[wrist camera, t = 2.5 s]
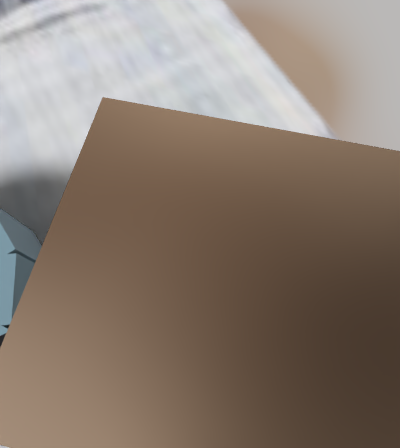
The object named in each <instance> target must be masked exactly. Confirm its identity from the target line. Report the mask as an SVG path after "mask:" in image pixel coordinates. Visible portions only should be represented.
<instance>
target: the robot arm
mask: <svg viewBox="0 0 400 448" xmlns="http://www.w3.org/2000/svg"><path fill="white" fill-rule="evenodd" d="M5 335H6V333H5V334H3V335H1V336H0V347H1V345H2V342H3V340H4V337H5Z"/></svg>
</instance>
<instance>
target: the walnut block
mask: <svg viewBox="0 0 400 448" xmlns="http://www.w3.org/2000/svg"><path fill="white" fill-rule="evenodd" d="M0 445H3V446H7V447H10V448H400V151H395V150H390V149H384V148H379V147H373V146H368V145H362V144H357V143H351V142H346V141H340V140H335V139H329V138H324V137H318V136H313V135H307V134H302V133H296V132H291V131H285V130H280V129H275V128H269V127H264V126H258V125H253V124H247V123H242V122H236V121H231V120H225V119H220V118H214V117H209V116H203V115H198V114H192V113H187V112H181V111H176V110H170V109H165V108H159V107H154V106H148V105H143V104H137V103H132V102H126V101H121V100H115V99H110V98H104V97H103V98H102V101H101V103H100V105H99V108H98V110H97V113H96V115H95V118H94V120H93V123H92V125H91V127H90V130H89V132H88V135H87V137H86V140H85V142H84V145H83V147H82V149H81V152H80V154H79V157H78V159H77V162H76V164H75V167H74V169H73V171H72V174H71V176H70V179H69V181H68V184H67V186H66V189H65V191H64V193H63V196H62V198H61V201H60V203H59V206H58V208H57V210H56V213H55V215H54V218H53V220H52V223H51V225H50V228H49V230H48V232H47V235H46V237H45V240H44V242H43V245H42V247H41V250H40V252H39V254H38V257H37V259H36V262H35V264H34V267H33V269H32V272H31V274H30V276H29V279H28V281H27V284H26V286H25V289H24V291H23V294H22V296H21V298H20V301H19V303H18V306H17V308H16V311H15V313H14V316H13V318H12V320H11V323H10V325H9V328H8V330H7V333H6V335H5V337H4V340H3V342H2V345H1V347H0Z"/></svg>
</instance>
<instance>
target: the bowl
mask: <svg viewBox="0 0 400 448" xmlns="http://www.w3.org/2000/svg"><path fill="white" fill-rule="evenodd" d="M41 247H42V245H41V244H40V242H39V240H38V239H37V237H36V235H35V234H34V232H33V231H31V230H30V229H29V228H27V227H26V226H25V225H23V224H22V223H20V222H19V221H18V220H16V219H15V218H13V217H12V216H11V215H9V214H8V213H6V212H5V211H4V210H2V209H1V208H0V336H1V335H3V334H5V333H7V330H8V328H9V325H10V323H11V320H12V318H13V316H14V313H15V311H16V308H17V306H18V303H19V301H20V298H21V296H22V294H23V291H24V289H25V286H26V284H27V281H28V279H29V276H30V274H31V272H32V269H33V267H34V264H35V262H36V259H37V257H38V254H39V252H40V250H41Z"/></svg>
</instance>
